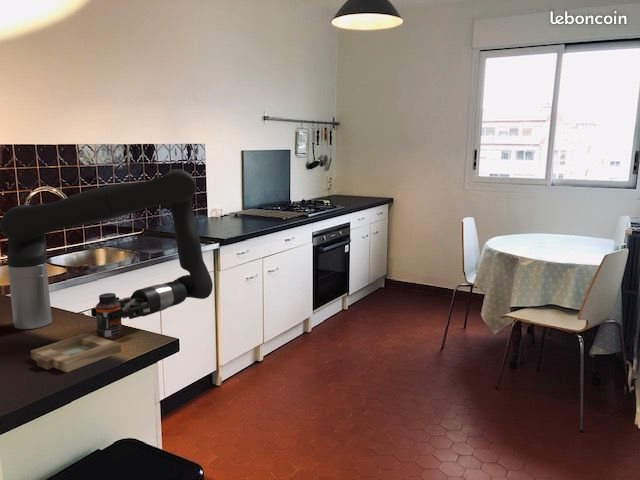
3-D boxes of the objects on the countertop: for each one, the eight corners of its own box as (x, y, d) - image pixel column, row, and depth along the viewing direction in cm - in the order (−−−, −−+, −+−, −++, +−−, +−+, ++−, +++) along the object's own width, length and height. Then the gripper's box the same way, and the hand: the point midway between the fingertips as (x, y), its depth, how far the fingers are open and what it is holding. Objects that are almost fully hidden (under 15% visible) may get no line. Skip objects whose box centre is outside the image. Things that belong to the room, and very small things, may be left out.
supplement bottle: (114, 341, 132) (110, 298, 130) (93, 340, 133) (89, 297, 132) (127, 333, 138) (124, 292, 136) (106, 332, 139) (103, 291, 137)
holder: (24, 361, 120) (24, 352, 120) (85, 340, 133) (85, 333, 133) (60, 374, 113) (59, 366, 113) (121, 351, 126) (120, 343, 125)
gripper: (135, 283, 150) (81, 296, 136) (170, 290, 142) (117, 305, 128) (136, 308, 151) (83, 324, 137) (171, 316, 143) (119, 334, 129)
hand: (100, 315), depth 133 cm, fingers closed on supplement bottle, 6 cm apart
